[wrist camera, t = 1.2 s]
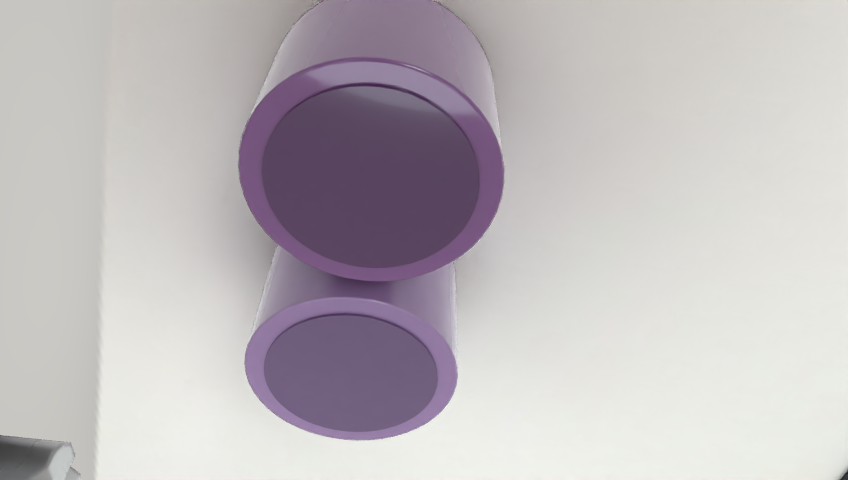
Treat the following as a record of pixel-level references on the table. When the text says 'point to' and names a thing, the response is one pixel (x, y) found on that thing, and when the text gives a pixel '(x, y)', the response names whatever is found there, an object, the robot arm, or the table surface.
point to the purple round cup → (375, 140)
